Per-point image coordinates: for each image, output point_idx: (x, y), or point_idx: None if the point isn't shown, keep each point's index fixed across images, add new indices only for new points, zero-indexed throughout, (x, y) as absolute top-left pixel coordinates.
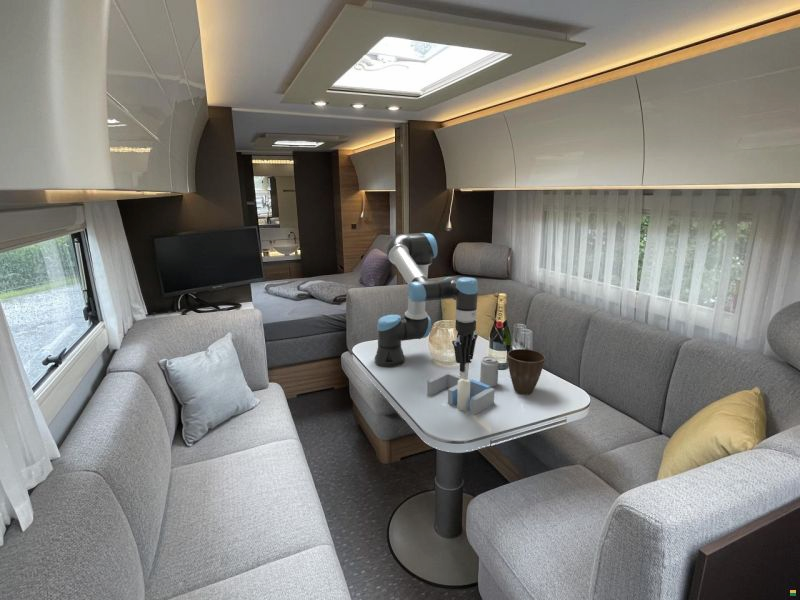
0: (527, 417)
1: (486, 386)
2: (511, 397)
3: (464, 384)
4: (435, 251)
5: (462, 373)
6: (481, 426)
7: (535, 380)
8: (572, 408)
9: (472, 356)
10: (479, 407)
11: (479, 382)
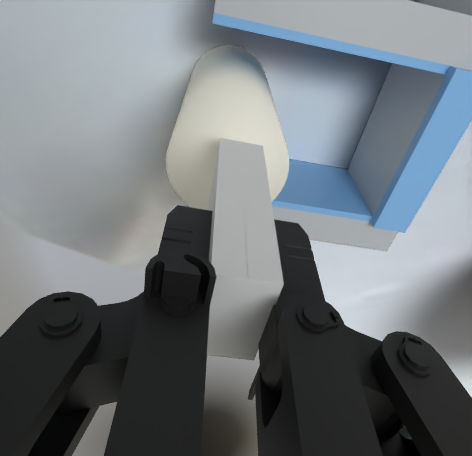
0: None
1: (389, 216)
2: (447, 242)
3: (176, 193)
4: None
5: (212, 203)
6: (123, 230)
7: None
8: None
9: (383, 450)
10: None
11: (442, 157)
